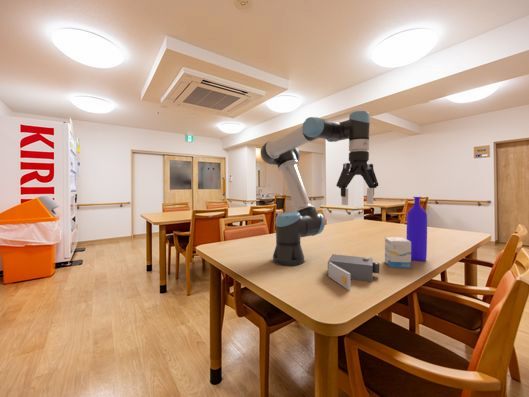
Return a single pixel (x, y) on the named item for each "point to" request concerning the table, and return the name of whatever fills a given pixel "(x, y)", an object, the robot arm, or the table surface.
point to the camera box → (356, 266)
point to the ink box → (398, 252)
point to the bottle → (417, 231)
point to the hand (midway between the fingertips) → (357, 204)
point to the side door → (339, 275)
